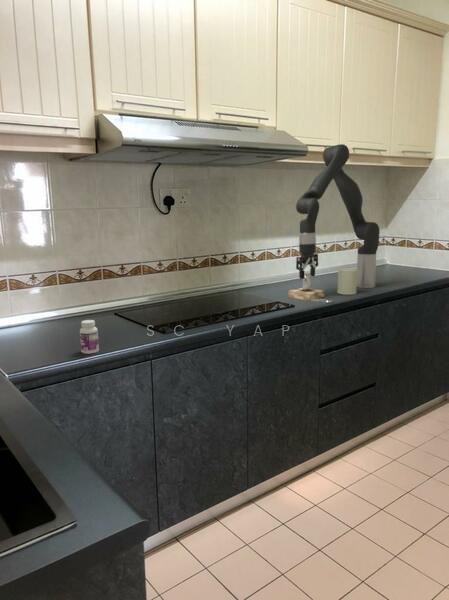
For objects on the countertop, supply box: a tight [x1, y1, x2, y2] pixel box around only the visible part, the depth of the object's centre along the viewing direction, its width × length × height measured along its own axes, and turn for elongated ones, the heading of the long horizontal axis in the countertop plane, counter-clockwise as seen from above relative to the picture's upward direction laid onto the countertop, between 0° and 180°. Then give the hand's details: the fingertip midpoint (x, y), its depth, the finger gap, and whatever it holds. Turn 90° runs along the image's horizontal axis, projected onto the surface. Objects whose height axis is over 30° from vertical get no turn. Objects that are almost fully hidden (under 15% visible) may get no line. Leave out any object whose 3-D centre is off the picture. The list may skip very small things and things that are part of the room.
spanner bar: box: [310, 298, 333, 304], centre depth 216 cm, size 11×3×1 cm, turn 45°
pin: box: [302, 272, 312, 292], centre depth 226 cm, size 4×4×11 cm
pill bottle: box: [79, 319, 100, 355], centre depth 149 cm, size 5×5×10 cm
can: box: [336, 267, 357, 296], centre depth 235 cm, size 9×9×12 cm
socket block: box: [287, 287, 325, 301], centre depth 227 cm, size 12×12×3 cm
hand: (307, 277), depth 226 cm, fingers open, 8 cm apart
